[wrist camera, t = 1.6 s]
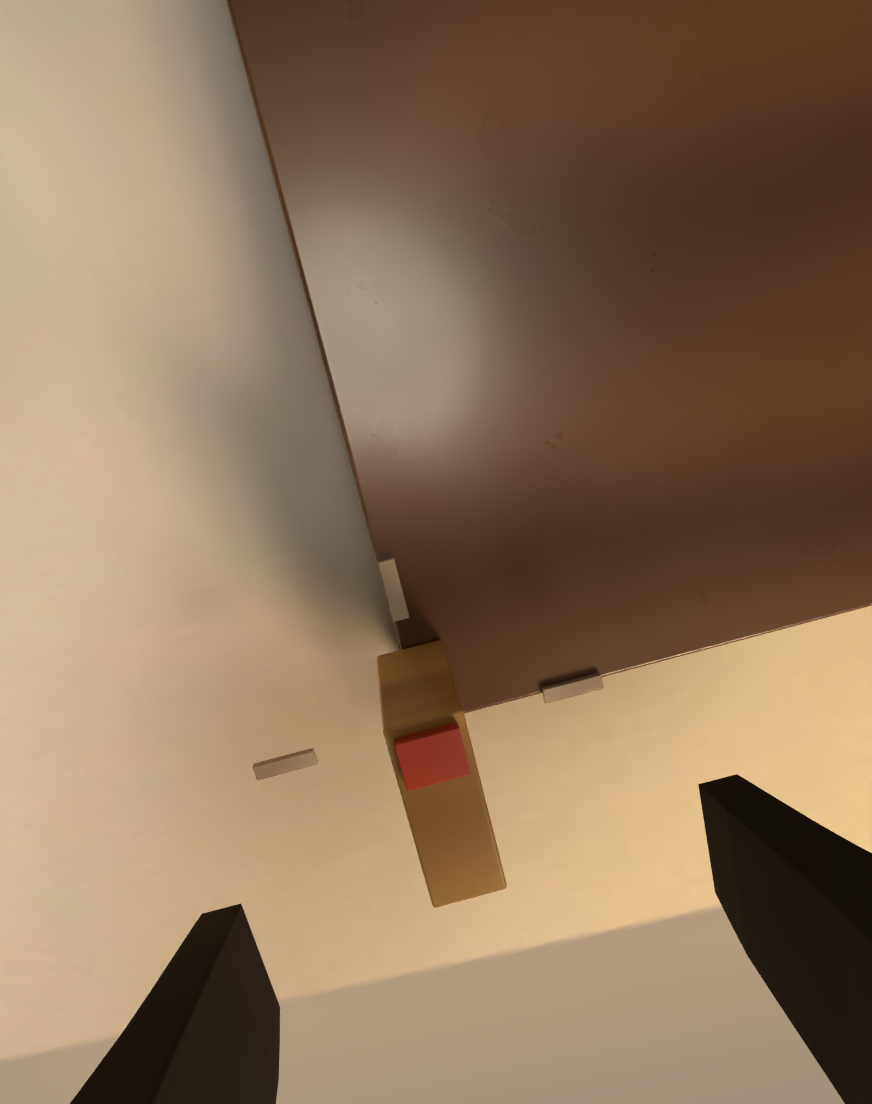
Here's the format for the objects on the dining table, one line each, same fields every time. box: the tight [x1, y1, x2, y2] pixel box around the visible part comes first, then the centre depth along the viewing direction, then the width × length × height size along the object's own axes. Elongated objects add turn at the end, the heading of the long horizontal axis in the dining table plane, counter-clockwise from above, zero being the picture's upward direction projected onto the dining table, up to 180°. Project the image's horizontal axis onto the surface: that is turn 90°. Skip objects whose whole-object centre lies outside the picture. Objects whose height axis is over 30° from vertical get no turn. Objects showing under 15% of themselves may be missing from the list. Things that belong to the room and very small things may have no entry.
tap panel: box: [226, 0, 872, 780], centre depth 18 cm, size 22×23×3 cm
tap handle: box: [377, 640, 507, 907], centre depth 17 cm, size 4×2×4 cm, turn 13°
